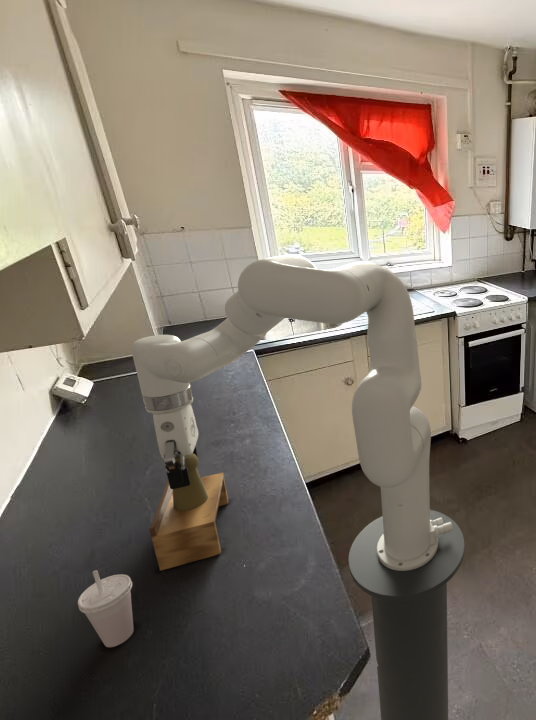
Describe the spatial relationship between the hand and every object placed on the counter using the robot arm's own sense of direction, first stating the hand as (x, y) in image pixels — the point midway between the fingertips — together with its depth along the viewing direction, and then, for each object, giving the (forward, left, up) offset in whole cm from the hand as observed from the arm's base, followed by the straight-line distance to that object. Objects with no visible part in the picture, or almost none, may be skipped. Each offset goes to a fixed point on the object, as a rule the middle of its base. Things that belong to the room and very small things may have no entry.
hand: (185, 473), depth 87 cm
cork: (0, 0, -7) cm, 7 cm away
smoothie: (+8, +22, -15) cm, 28 cm away
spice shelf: (0, 0, -15) cm, 15 cm away
